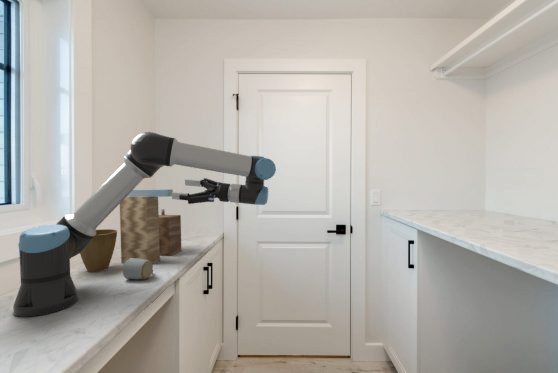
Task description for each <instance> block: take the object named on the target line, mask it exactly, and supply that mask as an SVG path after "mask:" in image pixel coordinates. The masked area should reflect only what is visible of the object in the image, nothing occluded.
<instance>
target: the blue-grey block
mask: <svg viewBox="0 0 558 373" xmlns="http://www.w3.org/2000/svg"><path fill="white" fill-rule="evenodd" d="M172 192H174V190H173V188H172V189H170V188H169V189H133V190H132V191H131V192H130V193H129V195H128V196H127V197H158V198H159V197H160V198H162V197H166V198H167V197H172Z"/></svg>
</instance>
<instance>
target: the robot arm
mask: <svg viewBox="0 0 558 373" xmlns="http://www.w3.org/2000/svg"><path fill="white" fill-rule="evenodd" d="M123 160H124V162H123V163H122V164H121V165H120V166H119V167H118V168H117V169H116V170H115V171H114V172H113V173H112V174H111V175H110V176H109V177H108V178H107V180H105V181H104V182H103V183H102V184H101V185H100V186H99V187H98V188H97V189H96V190H95V191H94V192H93V194H91V195H90V196H89V197H88V198H87V199H86V200H85V201H84V202H83V203H82V204H81V205H80V206H79V208H77V210H76V211H75V212H74V213H66V214H65V215H64V216H62V218H61V219H60V220H59V221H57V223H56V224H47V225H46V224H45V225H40V226H36V227H35V226H34V227H31V228H27V229H26V230H23V232H21V233H20V235H19V241H18V250H19V251H18V253H19V254H18V255H19V270H20V272H19V273H20V286H19V288H18V292H17V294H16V297H15V300H14V303H13V315H15V316H17V317H23V318H25V317H26V318H28V317H38V316H44V315H48V314H53V313H56V312H58V311H61V310H64V309H67V308H68V307H71V306H72V305H74V304H76V303H77V302H78V300H79V292H78V290H77V288H76V285H75V283H74V281H73V278H72V276H71V259H72V258H74V257H76V256H78V255H79V254H80V253H81V252H82V251H83V250H84V249H85V248H86V246H87V245H88V243H89V242H90V241H91V239H92V238H93V237H94V236H95V235H96V230H97V228H98V227H99V226H100V225H101V224H102V223H103V221H105V220H106V218H107V217H109V215H110V214H111V213H112V212H114V210H116V208H117V207H119V206H120V203H121V202H122V201H123V200H124V199H125V198H126V197H127V196H128V195H129V193H130V192H131V191H132V190H135V188H136V187H137V186H138V185H139V184H140V183H141V182H142V181H143V180H144V179H150V178H152V177H153V176H154V175H155V174H156V173H157V172H158V171H159V170H160V169H161V168H162V167H164V166H165V167H173V166H174V165H177V166H180V167H181V166H183V167H189V168H193V169H200V170H205V171H211V172H217V173H224V174H228V175H234V176H239V177H240V176H241V177H245V184H239V183H237V184H236V183H231V184H230V183H225V182H220V181H219V182H218V181H217V180H216V181H215V180H212V179H209V178H205V177H204V178H203V179H190V178H185V179H184V185H185V186H188V187H201V188H205V190H204V191H200V192H196V193H191V194H190V193H189V192H188V193H187V192H178V191H177V192H175V191H173V192H172V196H171V199H172V200H178V201H179V200H180V201H187V204H188V205H192V204H201V203H214V202H215V199H218V201H219V202H224V203H229V202H230V203H235V204H244V205H254V206H255V205H257V206H258V205H259V206H264V205H266V204H267V203H268V199H269V187H267V186H265V181H268V180H269V179H271V178H273V176H275V174H276V171H277V170H276V169H277V167H276V164H275V162H274V161H273V160H272V159H270V158H266V157H264V156H262V155H261V156H260V155H246V154H241V153H237V152H230V151H224V150H221V149H216V148H215V149H214V148H211V147H205V146H200V145H196V144H189V143H185V142H180V141H178V140H177V138H176V137H171V136H166V135H163V134H158V133H156V132H151V131H145V132H141V133H139V134H137V135H136V136H135V137H134V138H133V139H132V141H131V144H130V150H129V151H127V152H126V154H124V156H123Z"/></svg>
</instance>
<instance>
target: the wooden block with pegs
mask: <svg viewBox="0 0 558 373" xmlns="http://www.w3.org/2000/svg"><path fill="white" fill-rule="evenodd" d="M160 211H161V213H160V214H159V249H160V257H172V256H174V255H176V254H178V253H179V254H180V252H182V222H181V221H182V219H181V218H182V217H181V216H182V215H181V214H166V213H165V211H166V210H165V208H161V209H160Z"/></svg>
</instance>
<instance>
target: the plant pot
mask: <svg viewBox="0 0 558 373" xmlns="http://www.w3.org/2000/svg"><path fill="white" fill-rule="evenodd" d="M117 237H118V230H117V229H111V228H109V229H108V228H107V229H105V228H103V229H96V235H95V236H94V237H93V238H92V239H91V241H90V242H89V243H88V245H87V246H86V248H85V249H84V250H83V251H82V252H81V253H79V254H80V257H81V260H82V263H83V265H84V267H85V270H87V272H88V273H99V272H103V271H106V270H107V269H109V267H110V264H111V261H112V258H113V254H114V251H115V246H116V242H117Z"/></svg>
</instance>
